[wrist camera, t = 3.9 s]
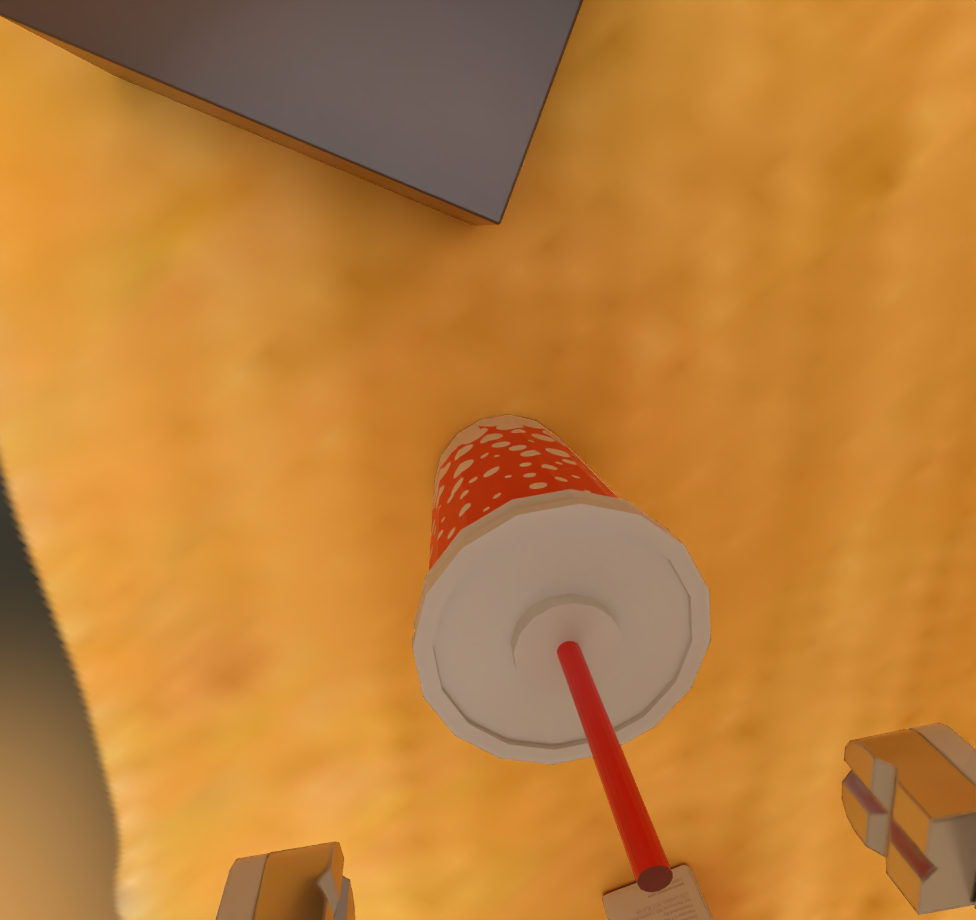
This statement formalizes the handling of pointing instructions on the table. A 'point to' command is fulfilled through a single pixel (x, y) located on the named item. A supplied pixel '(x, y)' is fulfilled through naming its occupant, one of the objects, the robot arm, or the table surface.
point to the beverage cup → (555, 615)
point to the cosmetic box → (659, 901)
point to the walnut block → (344, 79)
